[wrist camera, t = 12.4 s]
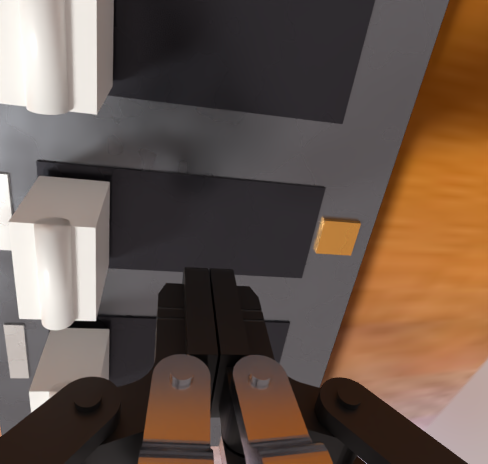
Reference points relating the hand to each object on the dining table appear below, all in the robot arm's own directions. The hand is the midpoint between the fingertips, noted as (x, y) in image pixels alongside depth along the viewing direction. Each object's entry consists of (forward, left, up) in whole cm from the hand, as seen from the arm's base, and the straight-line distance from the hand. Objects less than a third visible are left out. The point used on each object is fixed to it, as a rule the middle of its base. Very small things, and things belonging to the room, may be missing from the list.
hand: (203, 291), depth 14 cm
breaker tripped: (0, -4, -4) cm, 6 cm away
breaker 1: (-7, -4, -4) cm, 9 cm away
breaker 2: (+7, -4, -4) cm, 10 cm away
